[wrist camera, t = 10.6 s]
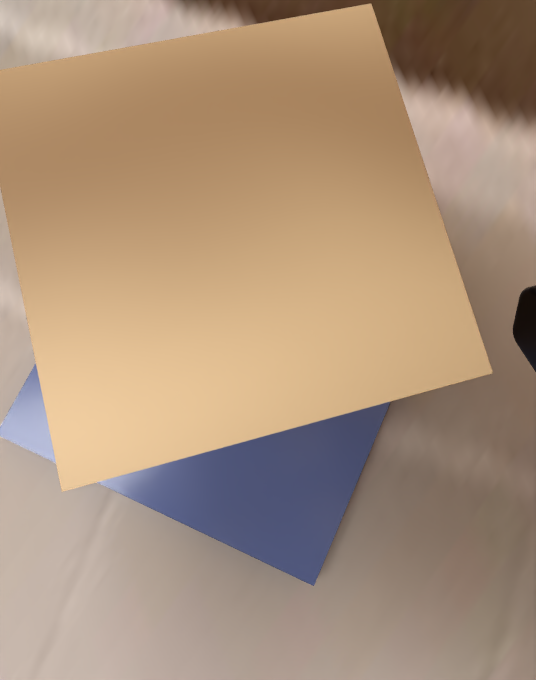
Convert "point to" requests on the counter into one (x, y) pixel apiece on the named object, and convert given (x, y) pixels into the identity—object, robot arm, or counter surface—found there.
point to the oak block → (225, 241)
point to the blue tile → (243, 482)
